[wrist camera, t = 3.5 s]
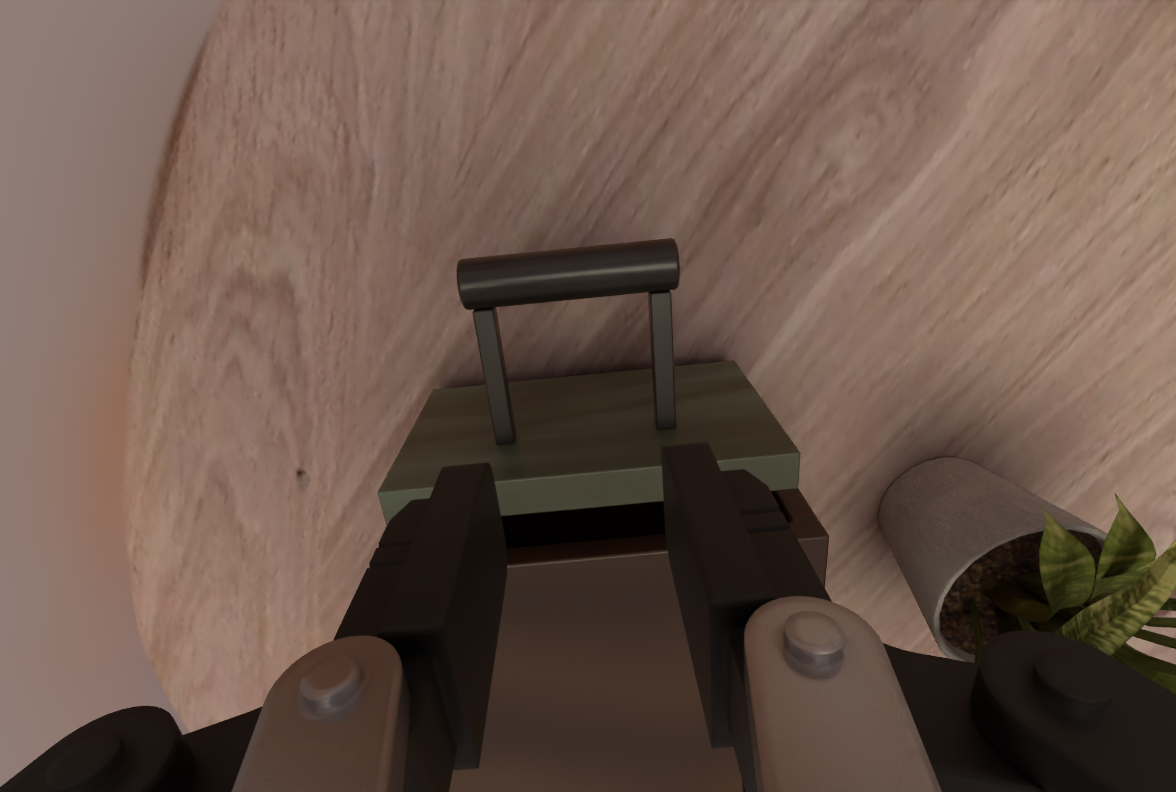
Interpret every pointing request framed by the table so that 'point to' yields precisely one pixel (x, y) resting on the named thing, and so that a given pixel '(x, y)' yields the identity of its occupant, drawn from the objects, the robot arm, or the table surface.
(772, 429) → the drawer
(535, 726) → the cabinet
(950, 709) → the robot arm
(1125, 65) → the table surface
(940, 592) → the house plant
